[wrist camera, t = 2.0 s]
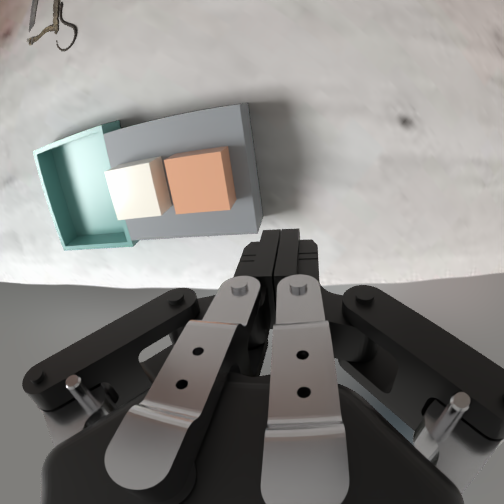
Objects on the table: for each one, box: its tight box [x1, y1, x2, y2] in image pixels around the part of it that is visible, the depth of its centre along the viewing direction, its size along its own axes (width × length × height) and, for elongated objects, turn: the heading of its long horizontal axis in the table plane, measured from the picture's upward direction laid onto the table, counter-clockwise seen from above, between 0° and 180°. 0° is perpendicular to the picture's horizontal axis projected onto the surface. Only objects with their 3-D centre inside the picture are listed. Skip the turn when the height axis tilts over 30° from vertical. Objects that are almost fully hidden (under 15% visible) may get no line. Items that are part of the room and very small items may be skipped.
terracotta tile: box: [164, 146, 236, 214], centre depth 26 cm, size 5×5×2 cm
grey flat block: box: [103, 103, 263, 241], centre depth 29 cm, size 14×12×4 cm
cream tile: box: [105, 156, 172, 220], centre depth 27 cm, size 5×5×2 cm
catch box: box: [33, 120, 139, 251], centre depth 32 cm, size 12×14×4 cm
